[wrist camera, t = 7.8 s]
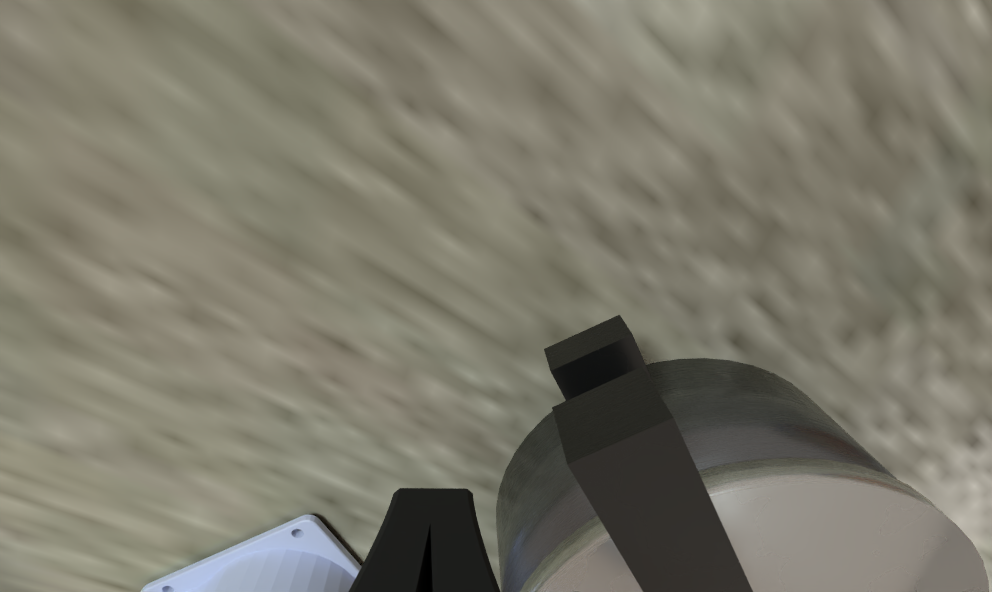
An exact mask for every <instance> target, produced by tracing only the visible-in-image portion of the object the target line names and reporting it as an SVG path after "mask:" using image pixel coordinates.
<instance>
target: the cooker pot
mask: <svg viewBox="0 0 992 592" xmlns="http://www.w3.org/2000/svg"><path fill="white" fill-rule="evenodd" d="M544 351H545V354H546V357H547V361H548V364H549V367H550V371H551V373H552V375H553V377H554V378H555V380H556V382H557V384H558V386H559V388H560V390H561V392H562V393H563V395H564V397H565V399H566V401H568V400H570V399H572V398H574V397H576V396H579V395H581V394H583V393H585V392H587V391H590V390H592V389H594V388H596V387H598V386H601V385H603V384H605V383H607V382H609V381H611V380H614V379H616V378H618V377H620V376H622V375H625V374H627V373H629V372H631V371H633V370H636V369H638V368H640V367H643V369H644V370H645V372H646V374H647V375H648V377H649V378H650V380H651V382H652V383H653V385H654V387H655V388H656V390H657V391H658V393H659V395H660V396H661V398H662V400H663V401H664V403H665V404H666V406H667V408H668V409H669V411H670V413H671V414H672V416H673V417H674V419H675V422H676V424H677V426H678V428H679V430H680V433H681V435H682V437H683V439H684V441H685V444H686V446H687V448H688V450H689V452H690V455H691V457H692V459H693V461H694V463H695V465H696V468H697V470H698V471H702V470H705V469H709V468H713V467H717V466H721V465H727V464H733V463H740V462H746V461H752V460H762V459H779V458H806V459H826V460H832V461H838V462H843V463H849V464H855V465H859V466H862V467H866V468H869V469H872V470H875V471H878V472H881V473H885V474H887V475H889V476H891V477H893V478H895V477H894V476H893V475H892V474H891V473H890V472H889V471H888V470H887V469H885V468H884V467H883V466H882V465H881V464H880V463H879V462H878V461H877V460H876V459H875V458H874V457H873V456H871V455H870V454H869V453H868V452H867V451H866V450H865V449H864V448H863V447H862V446H861V445H860V444H859V443H857V442H856V441H855V440H854V439H853V438H852V437H851V436H850V435H849V434H848V433H847V432H846V431H845V430H843V429H842V428H841V427H840V426H839V425H838V424H837V423H836V422H835V421H834V420H833V419H832V418H831V417H829V416H828V415H827V414H826V413H825V412H824V411H823V410H822V409H821V408H820V407H819V406H818V405H817V404H815V403H814V402H813V401H812V400H811V399H810V398H809V397H808V396H807V395H806V394H804V393H803V392H802V391H801V390H799V389H798V388H797V387H795V386H794V385H793V384H792V383H790V382H788V381H786V380H785V379H783V378H781V377H779V376H777V375H775V374H774V373H771V372H769V371H766V370H763V369H760V368H758V367H755V366H752V365H748V364H743V363H739V362H734V361H729V360H718V359H707V358H701V359H678V360H671V361H664V362H657V363H652V364H648V365H645V362H644V360H643V358H642V356H641V353H640V351H639V349H638V346H637V344H636V342H635V339H634V337H633V335H632V333H631V332H630V330H629V328H628V327H627V325H626V324H625V322H624V321H623V319H622V318H621V316H620V315H618V316H616V317H614V318H611V319H609V320H607V321H605V322H603V323H600V324H598V325H596V326H594V327H592V328H589V329H587V330H585V331H583V332H581V333H579V334H576V335H574V336H572V337H570V338H568V339H565V340H563V341H561V342H559V343H557V344H554V345H552V346H550V347H548V348H546V349H544ZM566 401H565V402H566ZM895 479H896V478H895ZM596 516H598V515H597V514H596V512H595V510H594V509H593V507H592V505H591V504H590V502H589V500H588V499H587V497H586V495H585V493H584V492H583V490H582V488H581V487H580V485H579V483H578V482H577V480H576V478H575V477H574V475H573V473H572V472H571V470H570V468H569V467H568V465H567V462H566V458H565V454H564V451H563V447H562V443H561V439H560V436H559V432H558V428H557V424H556V421H555V417H554V413H553V411H552V412H551V413H550V414H548V415H547V416H546V417H545V418H544V419H543V420H542V421H541V422H540V423H539V424H538V425H537V426H536V427H535V428H534V429H533V430H532V431H531V432H530V433H529V434H528V436H527V437H526V438H525V440H524V441H523V442H522V444H521V445H520V447H519V448H518V449H517V451H516V452H515V454H514V456H513V458H512V460H511V461H510V463H509V465H508V467H507V469H506V471H505V474H504V477H503V480H502V483H501V486H500V488H499V494H498V500H497V506H496V525H497V538H498V552H499V566H500V579H501V592H520V590H521V589H522V587H523V585H524V583H525V582H526V581H527V579H528V578H529V577H530V576H531V574H532V573H533V572H534V571H535V569H536V568H537V567H538V566H539V564H540V563H541V562H542V561H543V560H544V559H545V558H546V557H547V556H548V555H549V554H550V553H551V552H552V551H553V550H554V549H555V548H556V547H557V546H558V545H559V544H560V543H561V542H562V541H563V540H565V539H566V538H567V537H568V536H570V535H571V534H572V533H574V532H575V531H576V530H578V529H579V528H580V527H581V526H583V525H584V524H585V523H587V522H588V521H589V520H591V519H593V518H594V517H596Z"/></svg>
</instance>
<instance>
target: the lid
mask: <svg viewBox="0 0 992 592" xmlns="http://www.w3.org/2000/svg"><path fill="white" fill-rule="evenodd" d="M552 409H553V413H554V417H555V421H556V424H557V428H558V432H559V436H560V439H561V443H562V447H563V451H564V454H565V458H566V462H567V465H568V467H569V468H570V470H571V472H572V473H573V475H574V477H575V478H576V480H577V482H578V483H579V485H580V487H581V488H582V490H583V492H584V493H585V495H586V497H587V499H588V500H589V502H590V504H591V505H592V507H593V509H594V510H595V512H596V514H597V515H598V516H596V517H594V518H593V519H591V520H589V521H588V522H587V523H585V524H584V525H583V526H581V527H580V528H579V529H578V530H576V531H575V532H574V533H572V534H571V535H570V536H568V537H567V538H566V539H565V540H563V541H562V542H561V543H560V544H559V545H558V546H557V547H556V548H555V549H554V550H553V551H552V552H551V553H550V554H549V555H548V556H547V557H546V558H545V559H544V560H543V561H542V562H541V563H540V564H539V566H538V567H537V568H536V569H535V571H534V572H533V573H532V574H531V576H530V577H529V578H528V579H527V581H526V582H525V583H524V585H523V587H522V589H521V590H520V592H989V583H988V578H987V574H986V570H985V567H984V563H983V560H982V559H981V557H980V555H979V553H978V551H977V550H976V548H975V546H974V544H973V543H972V541H971V540H970V539H969V538H968V537H967V536H966V535H965V534H964V533H963V531H962V530H961V529H960V528H959V527H958V526H957V525H956V524H955V523H954V522H953V521H952V520H950V519H949V518H948V517H947V516H946V515H945V514H944V513H943V512H942V511H941V510H939V509H938V508H937V507H936V506H935V505H934V504H933V503H932V502H931V501H930V500H928V499H927V498H926V497H924V496H923V495H922V494H920V493H919V492H917V491H916V490H915V489H913V488H912V487H911V486H909V485H907V484H905V483H903V482H901V481H899V480H897V479H895V478H893V477H891V476H889V475H887V474H885V473H881V472H878V471H875V470H872V469H869V468H866V467H862V466H859V465H855V464H849V463H843V462H838V461H832V460H826V459H806V458H779V459H762V460H752V461H746V462H740V463H733V464H727V465H721V466H717V467H713V468H709V469H705V470H702V471H698V470H697V468H696V465H695V463H694V461H693V459H692V457H691V455H690V452H689V450H688V448H687V446H686V444H685V441H684V439H683V437H682V435H681V433H680V430H679V428H678V426H677V424H676V422H675V419H674V417H673V416H672V414H671V413H670V411H669V409H668V408H667V406H666V404H665V403H664V401H663V400H662V398H661V396H660V395H659V393H658V391H657V390H656V388H655V387H654V385H653V383H652V382H651V380H650V378H649V377H648V375H647V374H646V372H645V370H644V369H643V367H640V368H638V369H636V370H633V371H631V372H629V373H627V374H625V375H622V376H620V377H618V378H616V379H614V380H611V381H609V382H607V383H605V384H603V385H601V386H598V387H596V388H594V389H592V390H590V391H587V392H585V393H583V394H581V395H579V396H576V397H574V398H572V399H570V400H568V401H566V402H563V403H561V404H559V405H557V406H555V407H552Z"/></svg>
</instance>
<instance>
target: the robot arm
mask: <svg viewBox="0 0 992 592" xmlns="http://www.w3.org/2000/svg"><path fill="white" fill-rule="evenodd" d="M297 529H300V530H301V531H300V530H297ZM141 592H500V589H499V587H498V584H497V581H496V579H495V576H494V574H493V571H492V568H491V565H490V562H489V559H488V556H487V553H486V550H485V546H484V543H483V540H482V536H481V533H480V529H479V525H478V521H477V517H476V512H475V507H474V501H473V494H472V493H471V492H470V491H469V490H468V489H428V488H400V489H399V490H397V491H396V492H395V493H394V494H393V497H392V500H391V503H390V506H389V509H388V511H387V514H386V516H385V519H384V521H383V524H382V526H381V528H380V530H379V533H378V535H377V537H376V539H375V541H374V543H373V545H372V547H371V549H370V552H369V554H368V556H367V558H366V560H365V561H364V563H363V565H362V567H361V565H360V564H359V563H358V562H357V561H356V560H355V559H354V558H353V556H352V555H351V554H350V553H349V552H348V551H347V550H346V549H345V547H344V546H343V545H342V544H341V543H340V542H339V541H338V540H337V538H336V537H335V536H334V535H333V534H332V533H331V532H330V531H329V529H328V528H327V527H326V526H325V525H324V524H323V523H322V522H321V520H320V519H319V518H317V517H316V516H314V515H308V514H307V515H303V516H301V517H298V518H296V519H294V520H292V521H289V522H287V523H285V524H283V525H280V526H278V527H276V528H273V529H271V530H269V531H267V532H264V533H262V534H260V535H258V536H255V537H253V538H251V539H248V540H246V541H244V542H242V543H239V544H237V545H235V546H233V547H230V548H228V549H226V550H223V551H221V552H219V553H217V554H214V555H212V556H210V557H208V558H205V559H203V560H201V561H198V562H196V563H194V564H192V565H189V566H187V567H185V568H183V569H180V570H178V571H176V572H173V573H171V574H169V575H167V576H164V577H162V578H160V579H158V580H155V581H153V582H151V583H148V584H147V585H145V586H144V587H143V589H142V591H141Z"/></svg>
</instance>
